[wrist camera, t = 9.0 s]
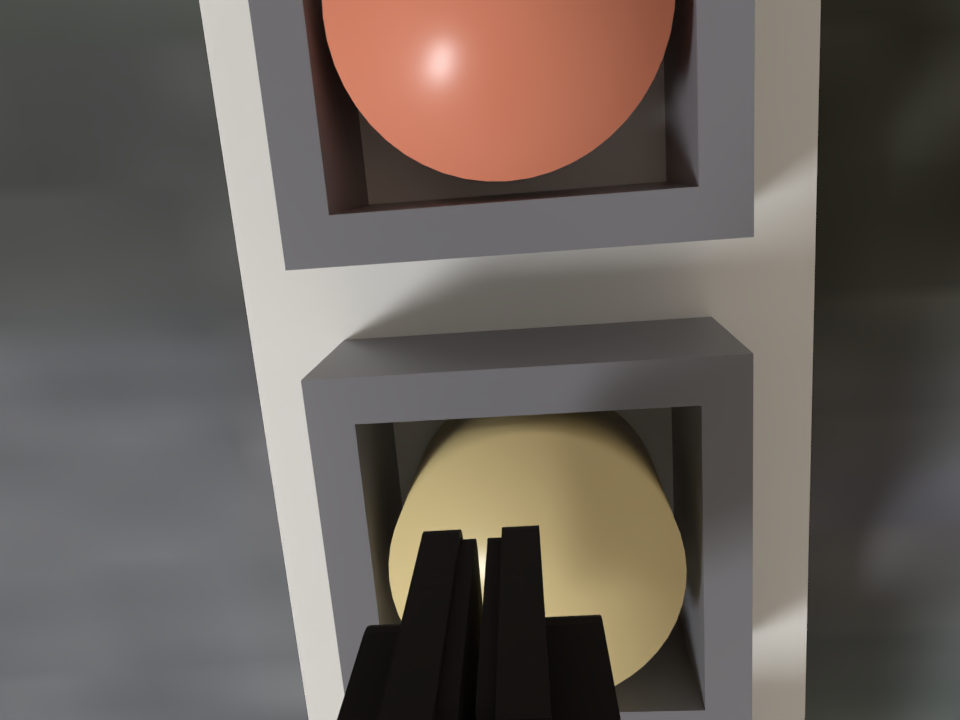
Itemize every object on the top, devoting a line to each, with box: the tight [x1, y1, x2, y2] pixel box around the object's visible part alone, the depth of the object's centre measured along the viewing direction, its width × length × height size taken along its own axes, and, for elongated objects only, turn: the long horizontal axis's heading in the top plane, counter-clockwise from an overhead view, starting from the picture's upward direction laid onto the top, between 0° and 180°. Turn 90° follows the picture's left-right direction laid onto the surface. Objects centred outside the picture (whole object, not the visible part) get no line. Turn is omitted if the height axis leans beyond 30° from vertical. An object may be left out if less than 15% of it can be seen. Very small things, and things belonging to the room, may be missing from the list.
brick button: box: [322, 0, 675, 181], centre depth 13 cm, size 5×5×3 cm
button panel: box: [199, 0, 821, 720], centre depth 16 cm, size 26×11×5 cm, turn 5°
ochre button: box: [389, 410, 687, 686], centre depth 15 cm, size 5×5×3 cm
